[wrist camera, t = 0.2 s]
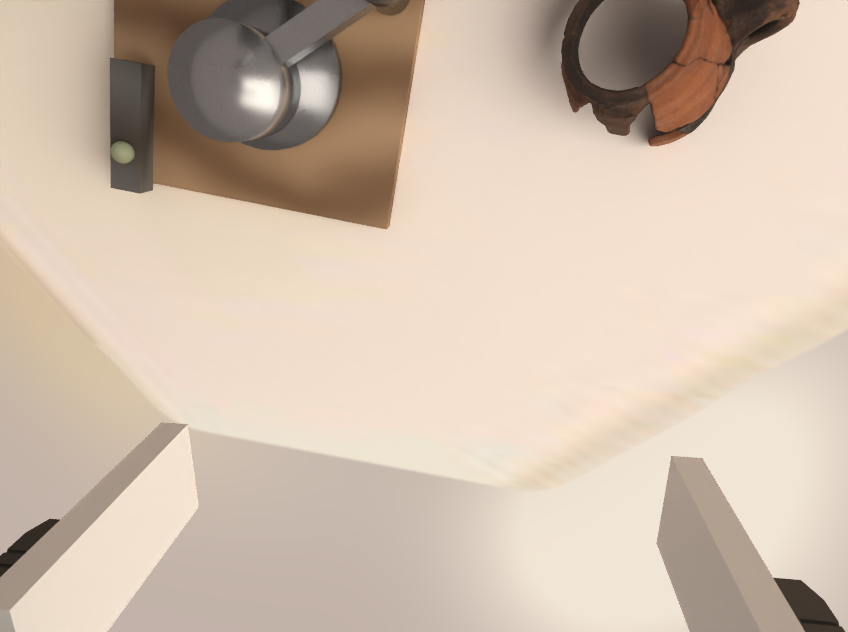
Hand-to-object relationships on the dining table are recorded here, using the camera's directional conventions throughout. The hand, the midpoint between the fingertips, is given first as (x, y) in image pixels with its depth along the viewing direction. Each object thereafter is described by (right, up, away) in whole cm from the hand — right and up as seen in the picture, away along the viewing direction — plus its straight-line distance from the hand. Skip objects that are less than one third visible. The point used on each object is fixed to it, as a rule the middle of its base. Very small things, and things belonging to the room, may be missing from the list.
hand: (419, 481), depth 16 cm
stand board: (-10, +21, +22) cm, 32 cm away
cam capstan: (-7, +21, +21) cm, 30 cm away
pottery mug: (+14, +20, +20) cm, 32 cm away
